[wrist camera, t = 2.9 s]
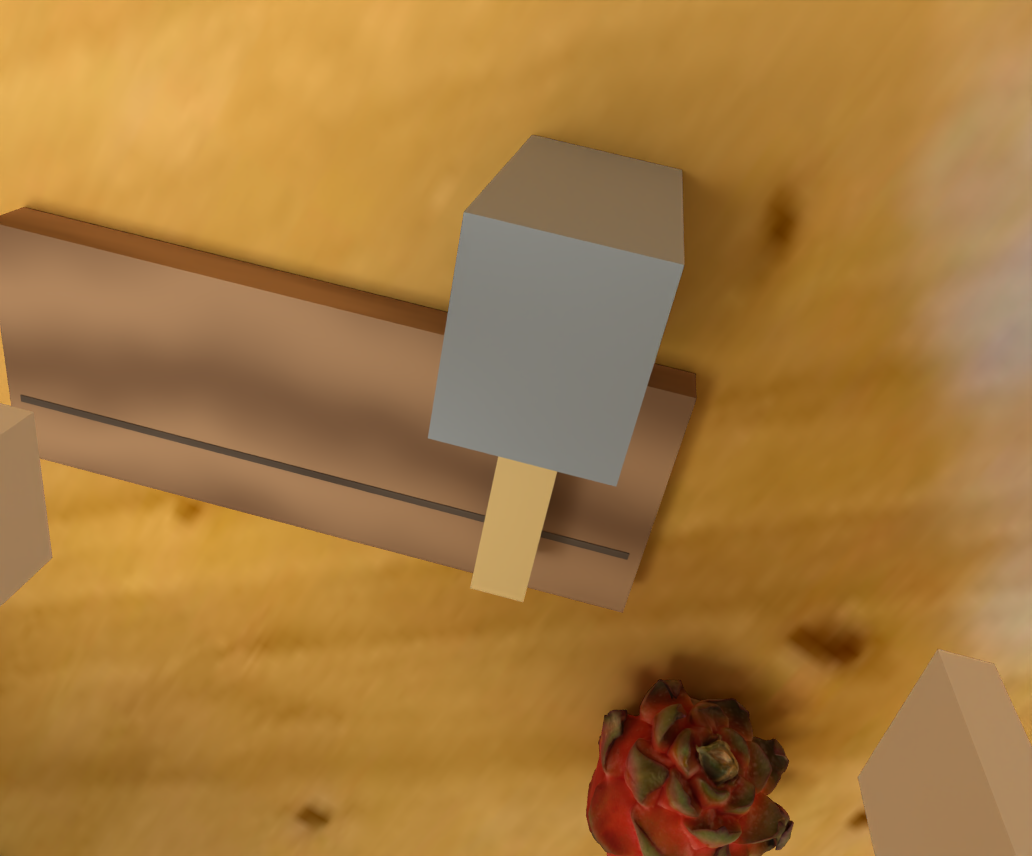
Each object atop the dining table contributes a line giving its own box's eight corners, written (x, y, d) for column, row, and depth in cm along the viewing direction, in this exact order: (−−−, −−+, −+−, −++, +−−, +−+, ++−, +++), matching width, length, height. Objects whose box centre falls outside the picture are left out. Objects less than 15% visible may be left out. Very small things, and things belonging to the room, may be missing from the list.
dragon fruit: (695, 599, 37) (701, 752, 44) (528, 690, 34) (563, 837, 41) (839, 742, 30) (820, 896, 37) (647, 868, 28) (665, 1007, 35)
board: (625, 581, 35) (622, 613, 33) (49, 429, 36) (17, 453, 35) (695, 373, 30) (696, 398, 28) (23, 207, 31) (-16, 221, 30)
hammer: (577, 531, 34) (544, 721, 26) (461, 501, 35) (389, 678, 26) (681, 170, 27) (684, 265, 18) (532, 134, 27) (463, 211, 18)
